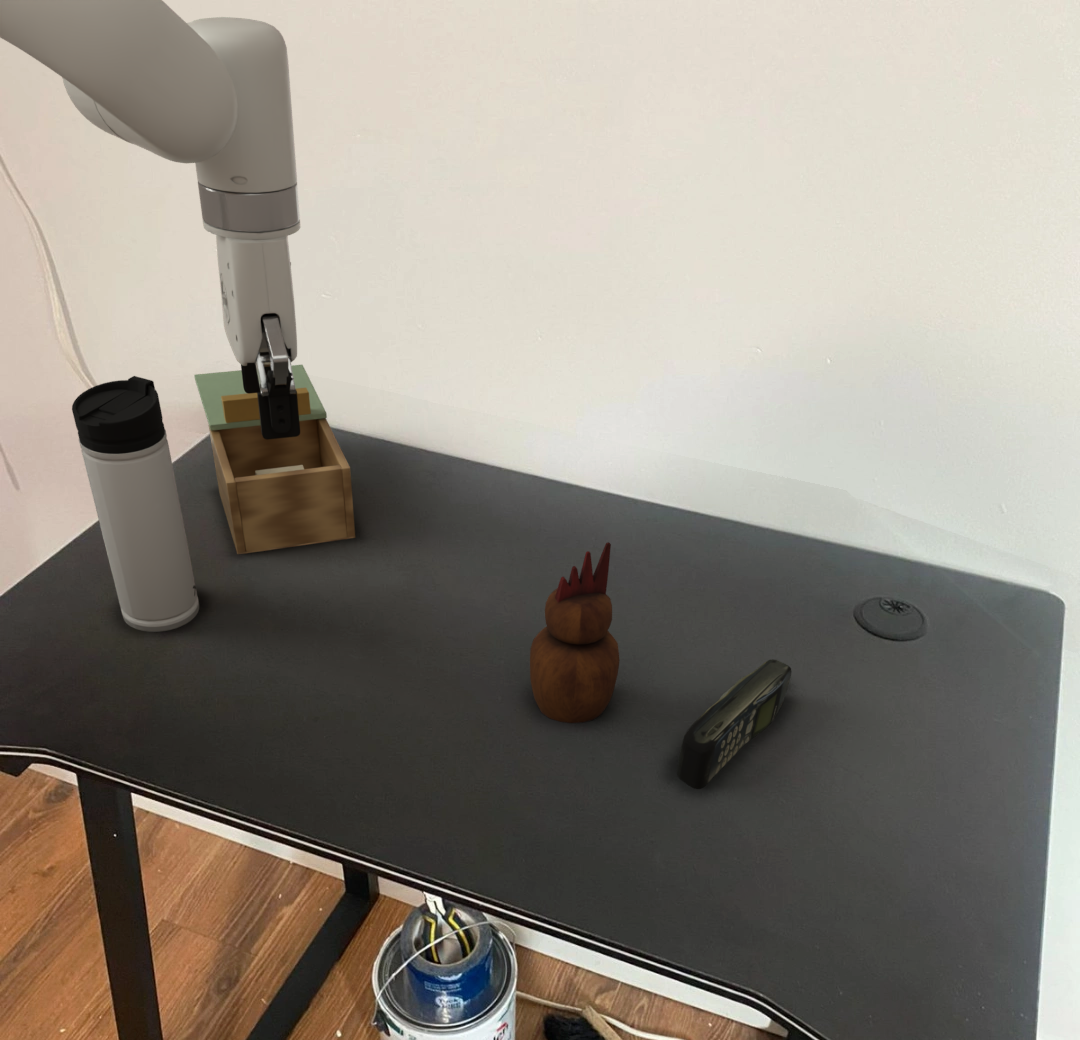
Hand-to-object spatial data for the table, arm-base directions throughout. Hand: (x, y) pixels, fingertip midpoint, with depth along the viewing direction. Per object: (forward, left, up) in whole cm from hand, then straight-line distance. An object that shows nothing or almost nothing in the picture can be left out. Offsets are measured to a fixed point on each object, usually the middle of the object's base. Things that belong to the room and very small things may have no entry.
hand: (271, 413), depth 95 cm
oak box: (0, +2, -12) cm, 12 cm away
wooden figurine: (+16, -33, -12) cm, 39 cm away
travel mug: (-12, -11, -12) cm, 21 cm away
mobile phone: (+27, -40, -12) cm, 50 cm away
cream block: (0, +1, -11) cm, 11 cm away
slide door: (0, +12, -4) cm, 13 cm away
